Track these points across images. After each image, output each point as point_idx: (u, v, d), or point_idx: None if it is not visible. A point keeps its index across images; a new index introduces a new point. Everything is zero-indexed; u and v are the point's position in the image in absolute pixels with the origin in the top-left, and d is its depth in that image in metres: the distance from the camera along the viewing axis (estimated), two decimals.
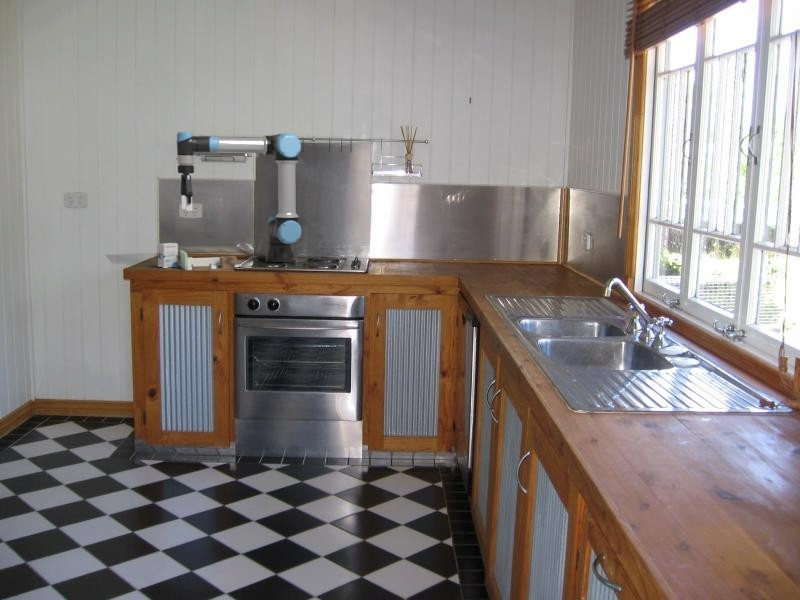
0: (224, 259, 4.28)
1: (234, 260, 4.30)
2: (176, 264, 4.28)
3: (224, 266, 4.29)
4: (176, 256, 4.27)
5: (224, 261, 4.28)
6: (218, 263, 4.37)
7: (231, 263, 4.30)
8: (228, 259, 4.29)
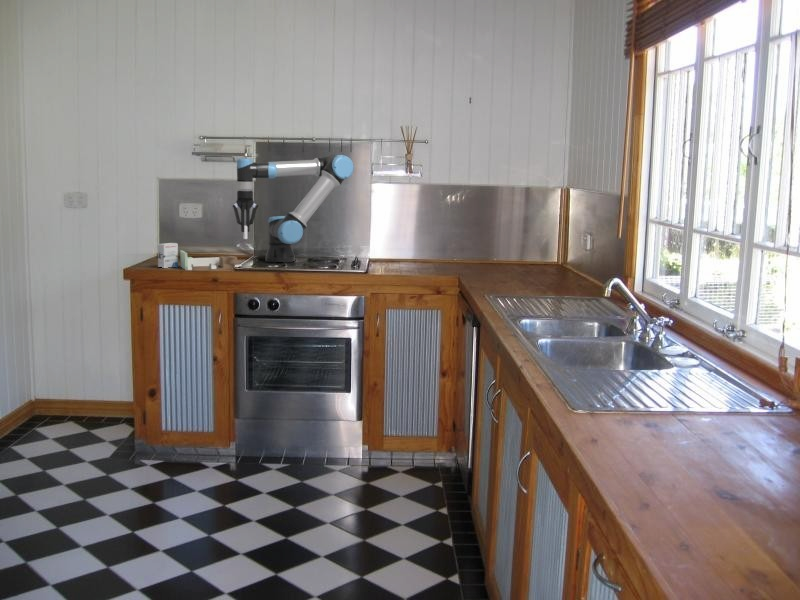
0: (224, 259, 4.28)
1: (234, 259, 4.30)
2: (176, 264, 4.28)
3: (224, 266, 4.29)
4: (176, 256, 4.27)
5: (224, 261, 4.28)
6: (218, 263, 4.37)
7: (231, 263, 4.30)
8: (228, 259, 4.29)
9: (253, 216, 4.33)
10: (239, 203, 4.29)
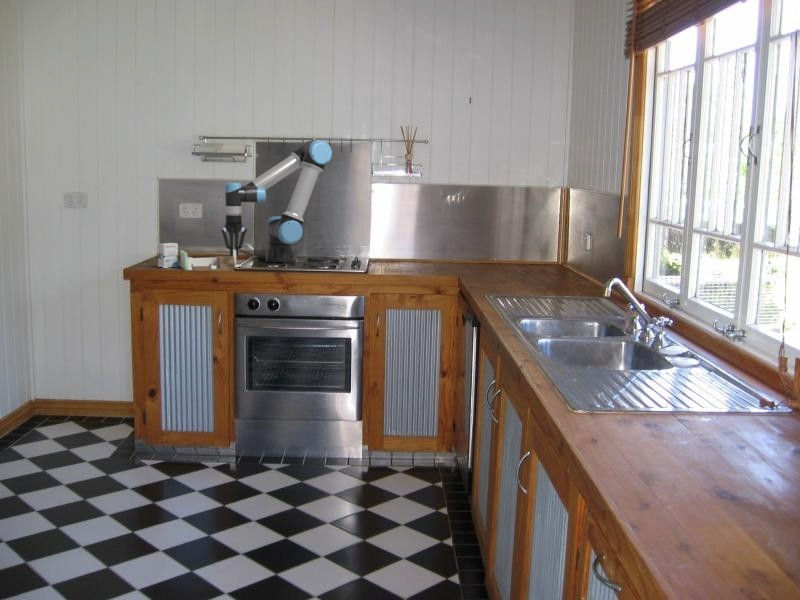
0: (221, 259, 4.28)
1: (231, 259, 4.30)
2: (176, 264, 4.28)
3: (221, 266, 4.28)
4: (176, 256, 4.27)
5: (221, 261, 4.28)
6: None
7: (228, 263, 4.30)
8: (225, 259, 4.29)
9: (242, 240, 4.33)
10: (228, 227, 4.29)
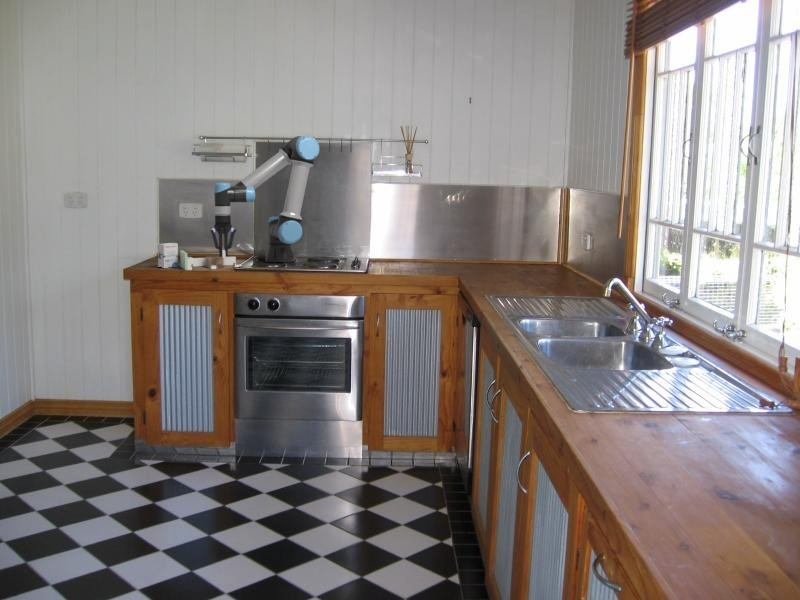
0: (210, 259, 4.26)
1: (220, 260, 4.28)
2: (176, 264, 4.28)
3: None
4: (176, 256, 4.27)
5: (210, 261, 4.26)
6: None
7: (217, 263, 4.28)
8: (214, 259, 4.27)
9: (231, 240, 4.31)
10: (217, 228, 4.27)
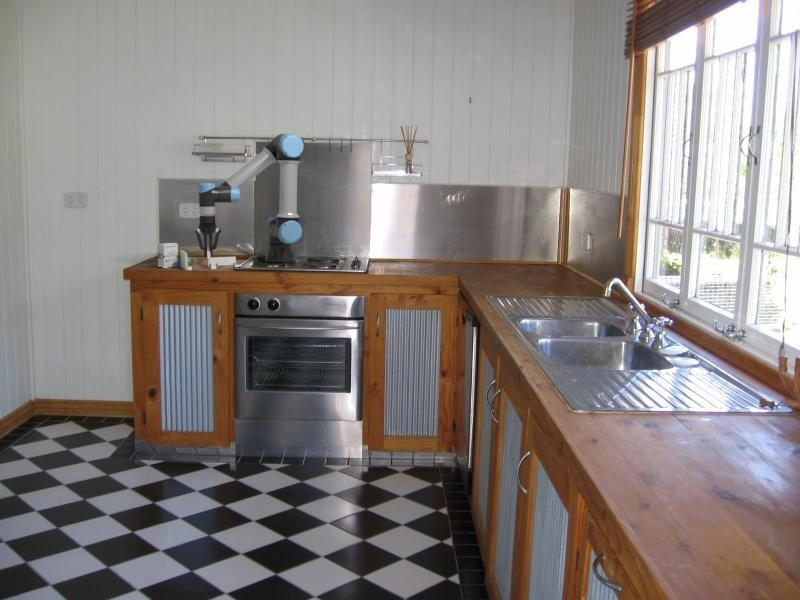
0: (195, 260, 4.23)
1: (205, 260, 4.25)
2: (176, 264, 4.28)
3: (195, 267, 4.24)
4: (176, 255, 4.27)
5: (195, 262, 4.23)
6: (218, 263, 4.37)
7: (202, 264, 4.25)
8: (199, 260, 4.24)
9: (216, 241, 4.28)
10: (201, 228, 4.24)
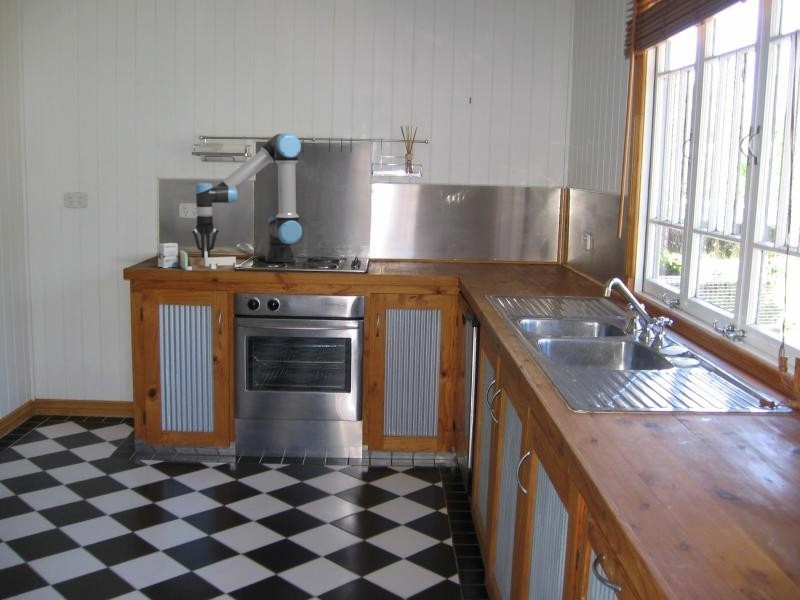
0: (192, 260, 4.23)
1: (202, 261, 4.25)
2: (176, 264, 4.28)
3: None
4: (176, 256, 4.27)
5: (192, 262, 4.23)
6: (218, 263, 4.37)
7: (199, 264, 4.24)
8: (196, 260, 4.24)
9: (213, 241, 4.27)
10: (199, 228, 4.24)
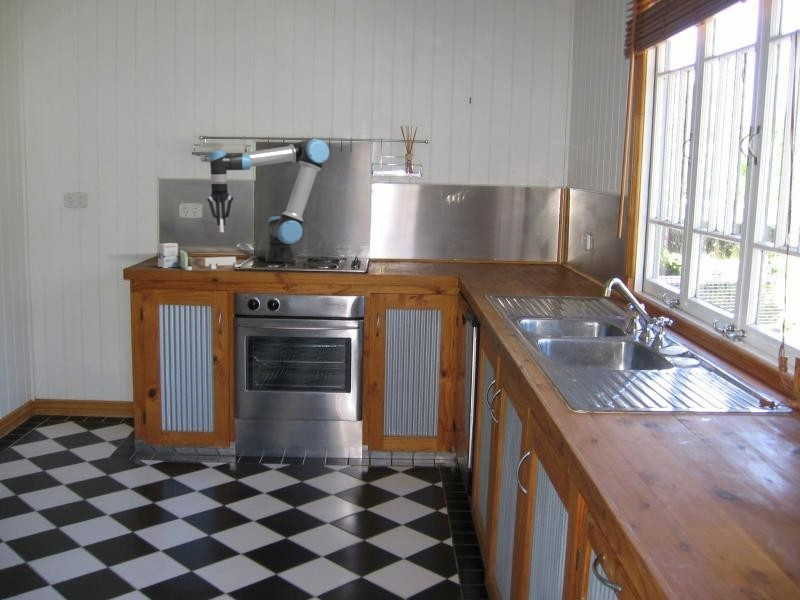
0: (192, 260, 4.23)
1: (202, 261, 4.25)
2: (176, 264, 4.28)
3: None
4: (176, 256, 4.27)
5: (192, 262, 4.23)
6: (218, 263, 4.37)
7: (199, 264, 4.24)
8: (196, 260, 4.23)
9: (228, 209, 4.28)
10: (214, 196, 4.24)
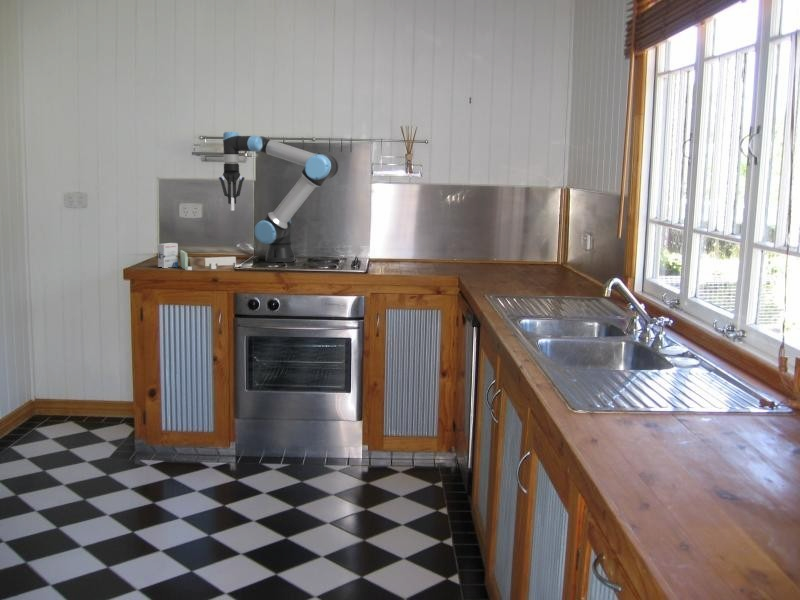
0: (192, 260, 4.23)
1: (202, 261, 4.25)
2: (176, 264, 4.28)
3: None
4: (176, 256, 4.27)
5: (192, 262, 4.23)
6: (218, 263, 4.37)
7: (199, 264, 4.24)
8: (196, 260, 4.23)
9: (239, 188, 4.44)
10: (226, 175, 4.41)
